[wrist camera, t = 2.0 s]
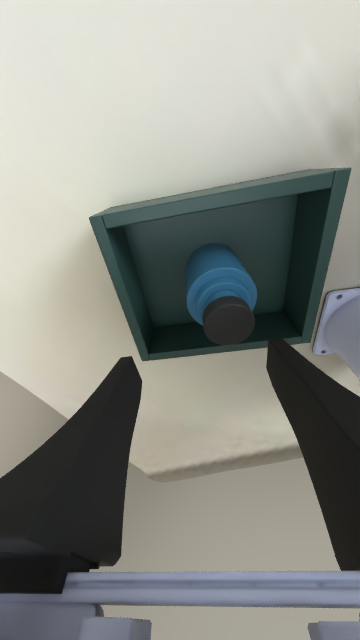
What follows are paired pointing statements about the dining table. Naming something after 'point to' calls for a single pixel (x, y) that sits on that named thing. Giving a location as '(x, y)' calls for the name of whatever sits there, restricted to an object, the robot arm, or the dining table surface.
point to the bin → (239, 235)
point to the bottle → (220, 294)
